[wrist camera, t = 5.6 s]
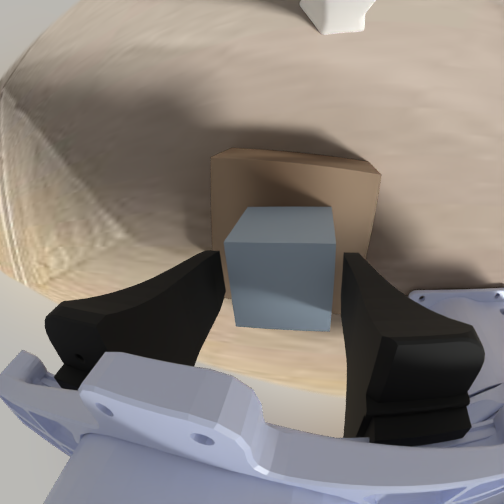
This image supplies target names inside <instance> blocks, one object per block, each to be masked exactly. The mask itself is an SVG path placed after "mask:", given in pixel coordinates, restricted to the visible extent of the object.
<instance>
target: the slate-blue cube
mask: <svg viewBox="0 0 504 504" xmlns="http://www.w3.org/2000/svg"><path fill="white" fill-rule="evenodd" d="M224 248H225V256H226V263H227V270H228V276H229V283H230V290H231V297H232V303H233V310H234V316H235V323H236V326H238V327H251V328H265V329H281V330H302V331H330V324H331V313H332V302H333V289H334V274H335V256H336V239H335V230H334V222H333V214H332V207H247V209H246V210H245V212H244V213H243V215H242V216H241V218H240V219H239V220H238V222H237V223H236V225H235V226H234V228H233V229H232V231H231V232H230V234H229V235H228V237H227V238H226V239H225V241H224Z"/></svg>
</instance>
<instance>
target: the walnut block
mask: <svg viewBox="0 0 504 504" xmlns="http://www.w3.org/2000/svg"><path fill="white" fill-rule="evenodd" d="M380 181H381V174H380V173H379V172H378V171H377V170H376V169H375V168H374V167H373V166H372V165H371V164H370V163H369V162H367V161H361V160H355V159H348V158H341V157H333V156H325V155H317V154H308V153H298V152H288V151H276V150H263V149H246V148H230V149H228V150H226V151H223V152H221V153H219V154H217V155H215V156H212V157H211V230H212V251H220V257H221V263H222V270H223V276H224V282H225V288H226V293H225V296H224V298H228V299H232V297H231V290H230V283H229V276H228V270H227V263H226V256H225V248H224V241H225V239H226V238H227V237H228V235H229V234H230V232H231V231H232V229H233V228H234V226H235V225H236V223H237V222H238V220H239V219H240V218H241V216H242V215H243V213H244V212H245V210H246V209H247V207H332V214H333V222H334V230H335V239H336V256H335V274H334V289H333V302H332V313H333V314H341V285H342V272H343V255H344V252H347V253H359V254H360V255H361V256H362V257H363V258H364V259H366V255H367V250H368V246H369V241H370V236H371V232H372V227H373V222H374V216H375V211H376V205H377V200H378V194H379V188H380Z"/></svg>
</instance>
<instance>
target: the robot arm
mask: <svg viewBox="0 0 504 504" xmlns="http://www.w3.org/2000/svg"><path fill="white" fill-rule="evenodd" d="M225 293H226V288H225V282H224V276H223V270H222V263H221V257H220V251H204V252H201V253H199V254H197V255H195V256H193V257H191V258H190V259H188V260H186V261H184V262H182V263H180V264H179V265H177V266H175V267H173V268H171V269H169V270H167V271H165V272H164V273H162V274H160V275H158V276H156V277H154V278H151V279H149V280H147V281H145V282H142V283H140V284H137V285H135V286H132V287H129V288H126V289H123V290H119V291H116V292H113V293H109V294H105V295H101V296H96V297H92V298H86V299H78V300H71V301H63V302H61V303H60V304H59V305H58V306H57V307H56V308H55V309H54V310H53V311H52V312H51V313H49V314H48V315H47V316H46V319H45V329H46V333H47V335H48V337H49V339H50V341H51V343H52V345H53V346H54V348H55V350H56V351H57V353H58V355H59V356H60V358H61V360H62V361H63V363H64V365H63V366H62V367H61V368H60V370H59V371H58V372H57V374H56V375H54V374H51V373H49V372H47V369H46V367H45V366H44V364H43V363H42V362H41V360H40V359H39V358H38V357H37V356H35V355H33V354H31V353H29V352H27V351H25V350H22V351H21V352H20V353H19V354H18V355H17V356H16V357H15V358H14V359H13V360H12V361H11V363H10V364H9V365H8V366H7V367H6V368H5V369H4V371H2V373H1V374H0V398H1V399H2V400H3V401H4V402H5V403H6V405H7V406H8V407H9V408H10V409H11V410H12V412H13V413H14V414H15V415H16V416H17V417H18V418H19V419H20V420H21V421H22V422H23V423H24V424H25V425H26V426H28V427H29V428H30V429H32V430H33V431H34V432H36V433H37V434H38V435H40V436H41V437H42V438H44V439H45V440H47V441H48V442H49V443H51V444H52V445H54V446H55V447H57V448H58V449H60V450H61V451H62V452H64V453H65V454H67V455H68V456H70V459H69V461H68V462H67V464H66V466H65V467H64V469H63V471H62V472H61V474H60V476H59V477H58V479H57V481H56V482H55V484H54V486H53V488H52V489H51V491H50V493H49V495H48V496H47V498H46V500H45V502H44V503H43V504H504V288H486V289H456V290H415V291H412V292H411V293H410V294H409V296H408V297H407V296H406V295H404V294H403V293H401V292H400V291H398V290H397V289H396V288H395V287H393V286H392V285H391V284H390V283H389V282H387V281H386V280H385V279H384V278H383V277H382V276H381V275H380V274H379V273H378V272H377V271H376V270H375V269H374V268H373V267H372V266H371V265H370V264H369V263H368V262H367V261H366V260H365V259H364V258H363V257H362V256H361V255H360V254H359V253H347V252H344V255H343V272H342V285H341V319H342V326H343V334H344V341H345V349H346V358H347V391H346V412H345V426H344V436H343V438H334V437H329V436H323V435H318V434H313V433H309V432H304V431H299V430H295V429H291V428H287V427H282V426H279V425H275V424H271V423H267V422H265V421H264V418H263V411H262V404H261V402H260V401H259V399H258V397H257V396H256V394H255V392H254V390H253V389H252V388H251V387H249V386H247V385H246V384H244V383H243V382H241V381H240V380H238V379H237V378H235V377H234V376H232V375H228V374H225V373H222V372H218V371H215V370H212V369H206V368H200V367H194V365H195V362H196V360H197V357H198V354H199V352H200V350H201V347H202V345H203V343H204V341H205V339H206V337H207V335H208V333H209V331H210V329H211V327H212V325H213V324H214V321H215V319H216V317H217V315H218V313H219V311H220V309H221V306H222V303H223V299H224V296H225ZM496 294H497V295H496ZM495 295H496V296H495ZM421 296H424V297H423V298H421V299H419V298H420V297H421Z"/></svg>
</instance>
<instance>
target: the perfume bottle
mask: <svg viewBox="0 0 504 504" xmlns="http://www.w3.org/2000/svg"><path fill="white" fill-rule="evenodd" d="M375 1H376V0H301V1H300V4H299V5H300V7H301V8H302V9H303V11H304V12H305V13H306V14H307V16H308V17H309V18H310V20H311V21H312V22H313V24H314V25H315V27H316V28H317V29H318V31H319V32H320V33H321V34H323V35H327V34H336V33H347V32H360V31H363V30H364V27H365V13H366V12H367V11H368V9H369V8H370V7H371V6H372V4H373V3H374V2H375Z"/></svg>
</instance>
